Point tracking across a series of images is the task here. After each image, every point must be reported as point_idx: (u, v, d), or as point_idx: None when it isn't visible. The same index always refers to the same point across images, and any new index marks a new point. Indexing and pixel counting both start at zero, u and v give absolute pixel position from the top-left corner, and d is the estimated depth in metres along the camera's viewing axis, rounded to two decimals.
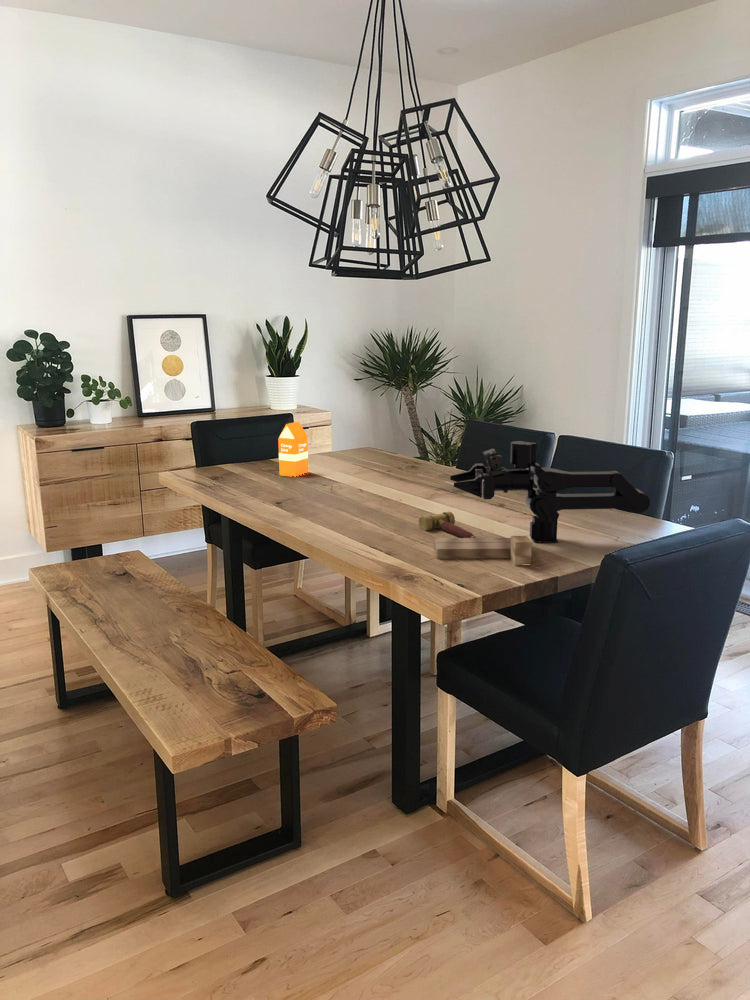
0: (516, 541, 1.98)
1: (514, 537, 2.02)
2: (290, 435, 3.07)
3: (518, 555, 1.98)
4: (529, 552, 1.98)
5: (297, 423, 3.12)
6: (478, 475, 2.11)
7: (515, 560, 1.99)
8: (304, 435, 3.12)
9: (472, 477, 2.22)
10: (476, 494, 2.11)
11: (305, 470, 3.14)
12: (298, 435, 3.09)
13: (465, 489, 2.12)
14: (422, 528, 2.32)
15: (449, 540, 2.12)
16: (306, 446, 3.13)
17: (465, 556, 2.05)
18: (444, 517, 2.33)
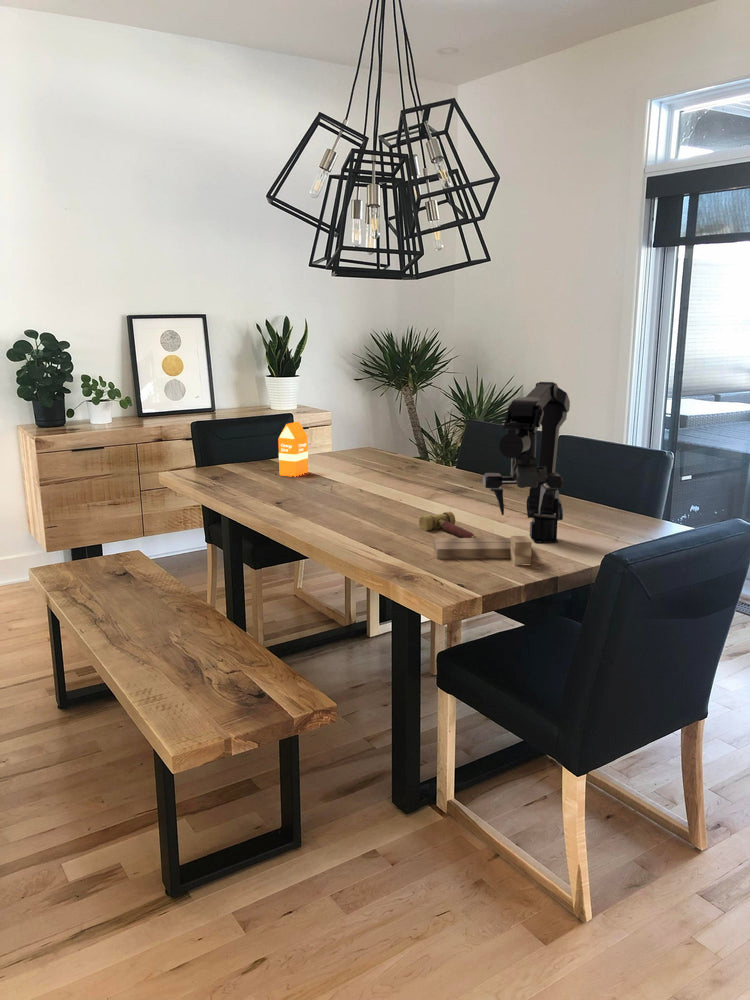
0: (516, 541, 1.98)
1: (514, 537, 2.02)
2: (290, 435, 3.07)
3: (518, 555, 1.98)
4: (529, 552, 1.98)
5: (297, 423, 3.12)
6: (546, 491, 1.95)
7: (515, 560, 1.99)
8: (304, 435, 3.12)
9: None
10: None
11: (305, 470, 3.14)
12: (298, 435, 3.09)
13: None
14: (422, 528, 2.32)
15: (449, 540, 2.12)
16: (306, 446, 3.13)
17: (465, 556, 2.05)
18: (444, 517, 2.33)
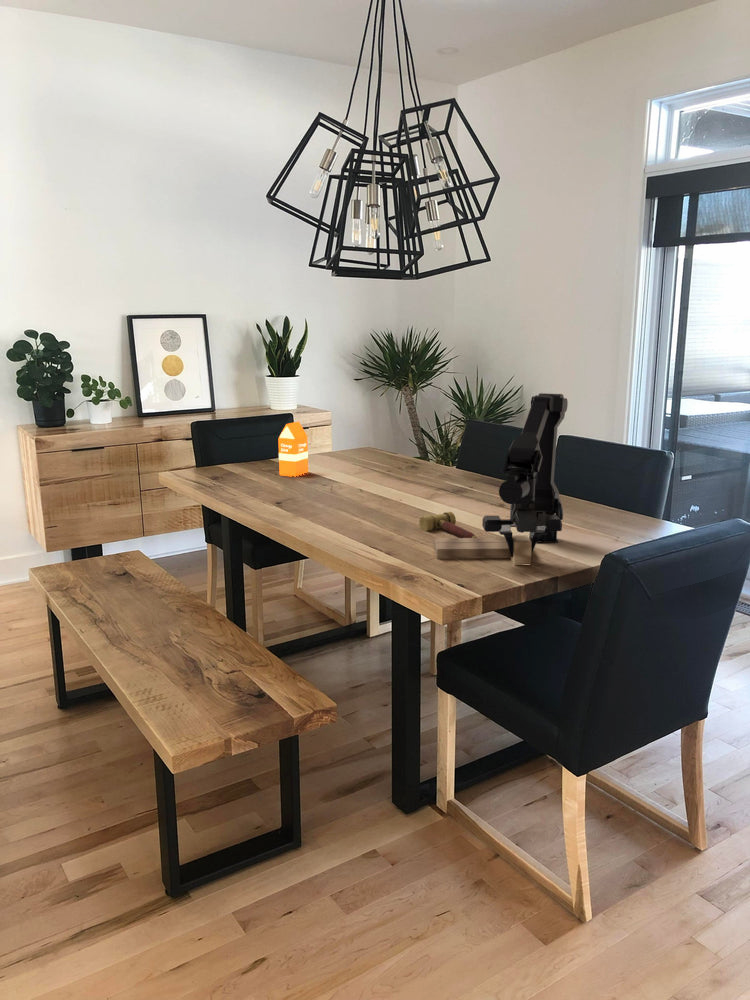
0: (516, 541, 1.98)
1: (514, 537, 2.02)
2: (290, 435, 3.07)
3: (518, 555, 1.98)
4: (529, 552, 1.98)
5: (297, 423, 3.12)
6: (535, 534, 1.98)
7: (515, 560, 1.99)
8: (304, 435, 3.12)
9: None
10: None
11: (305, 470, 3.14)
12: (298, 435, 3.09)
13: None
14: (423, 528, 2.32)
15: (449, 540, 2.12)
16: (306, 446, 3.13)
17: (465, 556, 2.05)
18: (445, 518, 2.33)
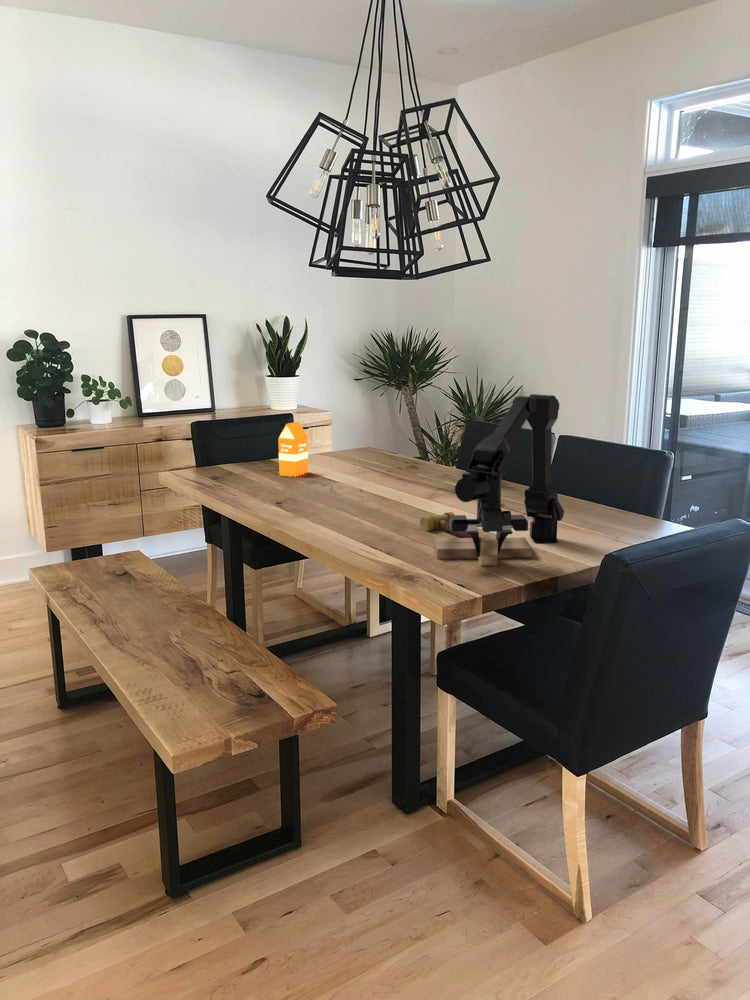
0: (482, 541, 1.98)
1: (481, 537, 2.02)
2: (290, 435, 3.07)
3: (485, 555, 1.98)
4: (495, 552, 1.98)
5: (297, 423, 3.12)
6: (502, 534, 1.97)
7: (481, 560, 1.98)
8: (304, 435, 3.12)
9: None
10: None
11: (305, 470, 3.14)
12: (298, 435, 3.09)
13: None
14: (423, 529, 2.31)
15: (449, 540, 2.12)
16: (306, 446, 3.13)
17: (465, 556, 2.05)
18: (445, 518, 2.33)
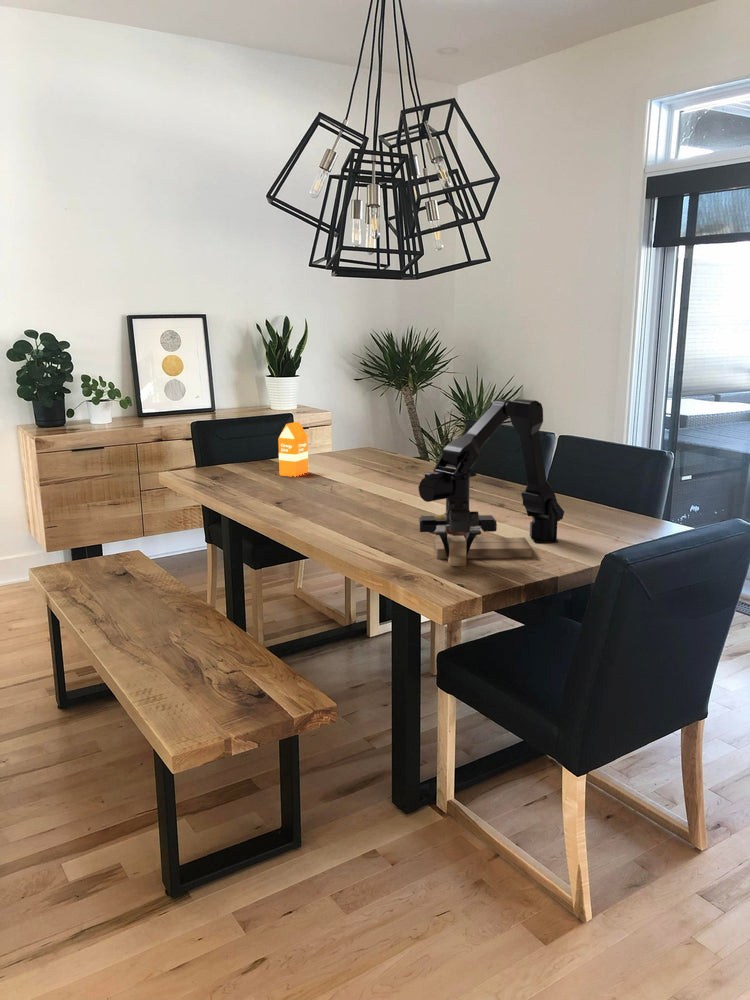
0: (451, 541, 1.98)
1: (450, 537, 2.02)
2: (290, 435, 3.07)
3: (453, 555, 1.98)
4: (464, 552, 1.98)
5: (297, 423, 3.12)
6: (470, 535, 1.97)
7: (450, 560, 1.99)
8: (304, 435, 3.12)
9: None
10: None
11: (305, 470, 3.14)
12: (298, 435, 3.09)
13: None
14: None
15: None
16: (306, 446, 3.13)
17: None
18: None
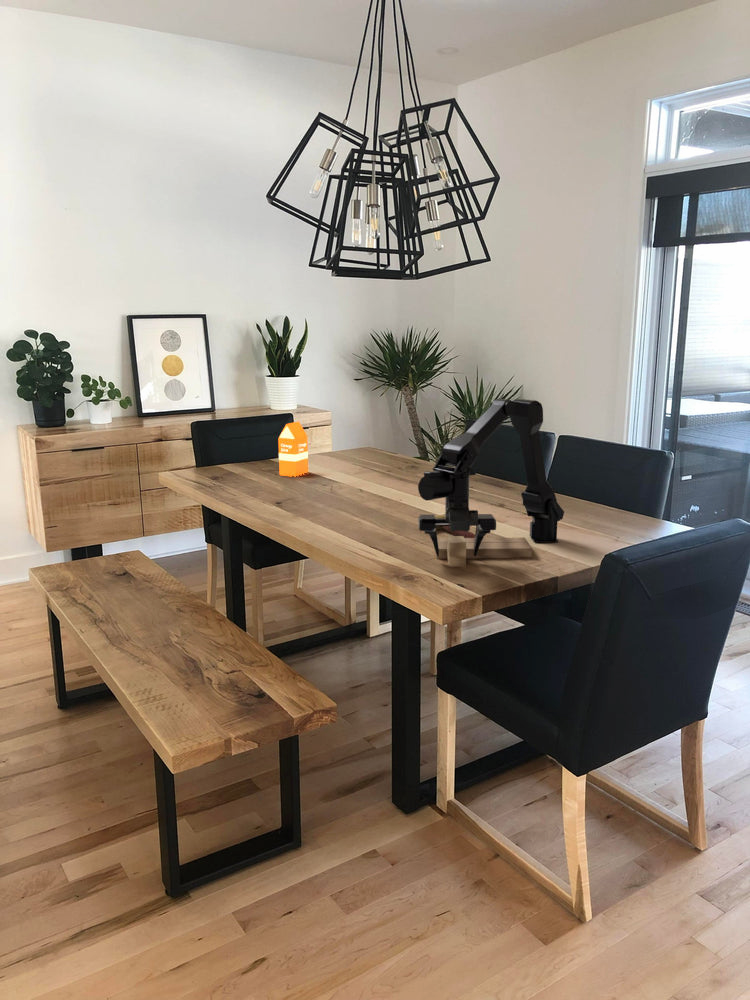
0: (451, 542, 1.98)
1: (450, 538, 2.02)
2: (290, 435, 3.07)
3: (453, 556, 1.98)
4: (464, 553, 1.98)
5: (297, 423, 3.12)
6: (480, 533, 1.97)
7: (450, 561, 1.99)
8: (304, 435, 3.12)
9: None
10: None
11: (305, 470, 3.14)
12: (298, 435, 3.09)
13: None
14: None
15: None
16: (306, 446, 3.13)
17: None
18: None
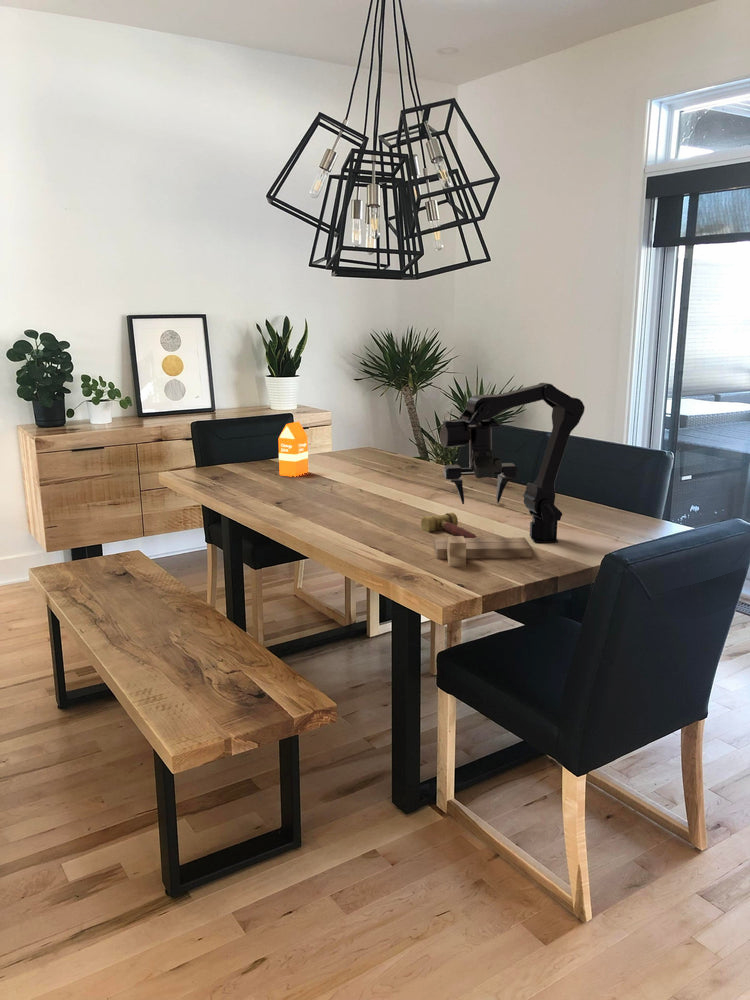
0: (451, 542, 1.98)
1: (450, 538, 2.02)
2: (290, 435, 3.07)
3: (453, 556, 1.98)
4: (464, 553, 1.98)
5: (297, 423, 3.12)
6: (503, 480, 2.10)
7: (450, 561, 1.99)
8: (304, 435, 3.12)
9: None
10: None
11: (305, 470, 3.14)
12: (298, 435, 3.09)
13: None
14: (425, 529, 2.31)
15: None
16: (306, 446, 3.13)
17: None
18: (446, 518, 2.32)
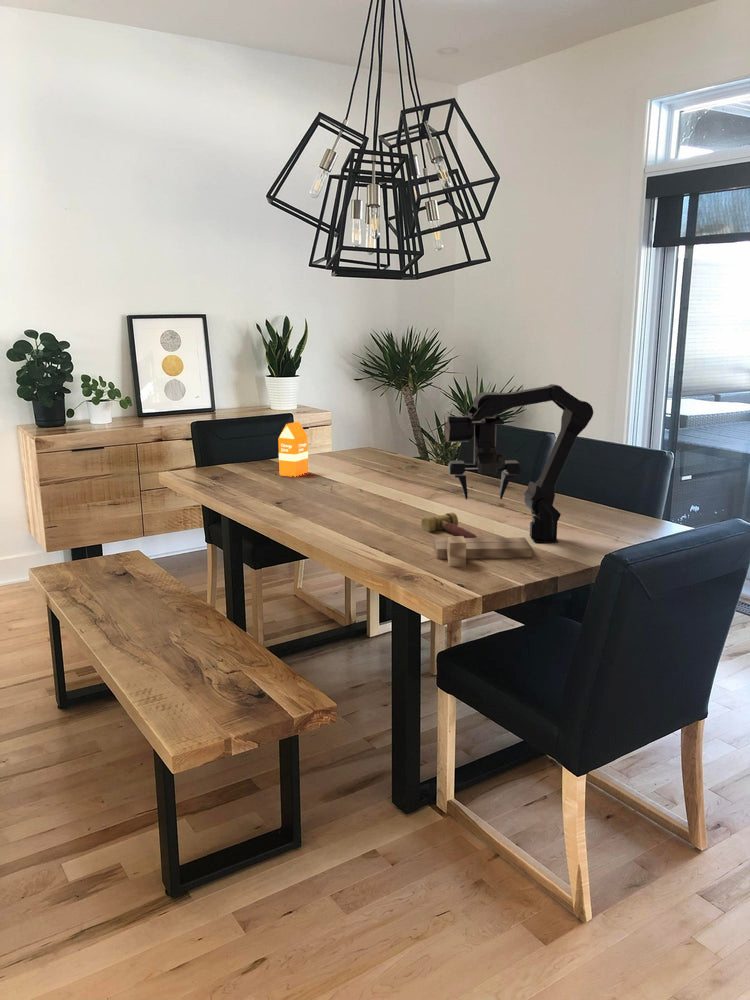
0: (451, 542, 1.98)
1: (450, 538, 2.02)
2: (290, 435, 3.07)
3: (453, 556, 1.98)
4: (464, 553, 1.98)
5: (297, 423, 3.12)
6: (506, 477, 2.12)
7: (450, 561, 1.99)
8: (304, 435, 3.12)
9: None
10: None
11: (305, 470, 3.14)
12: (298, 435, 3.09)
13: None
14: (425, 529, 2.31)
15: None
16: (306, 446, 3.13)
17: None
18: (447, 519, 2.32)
